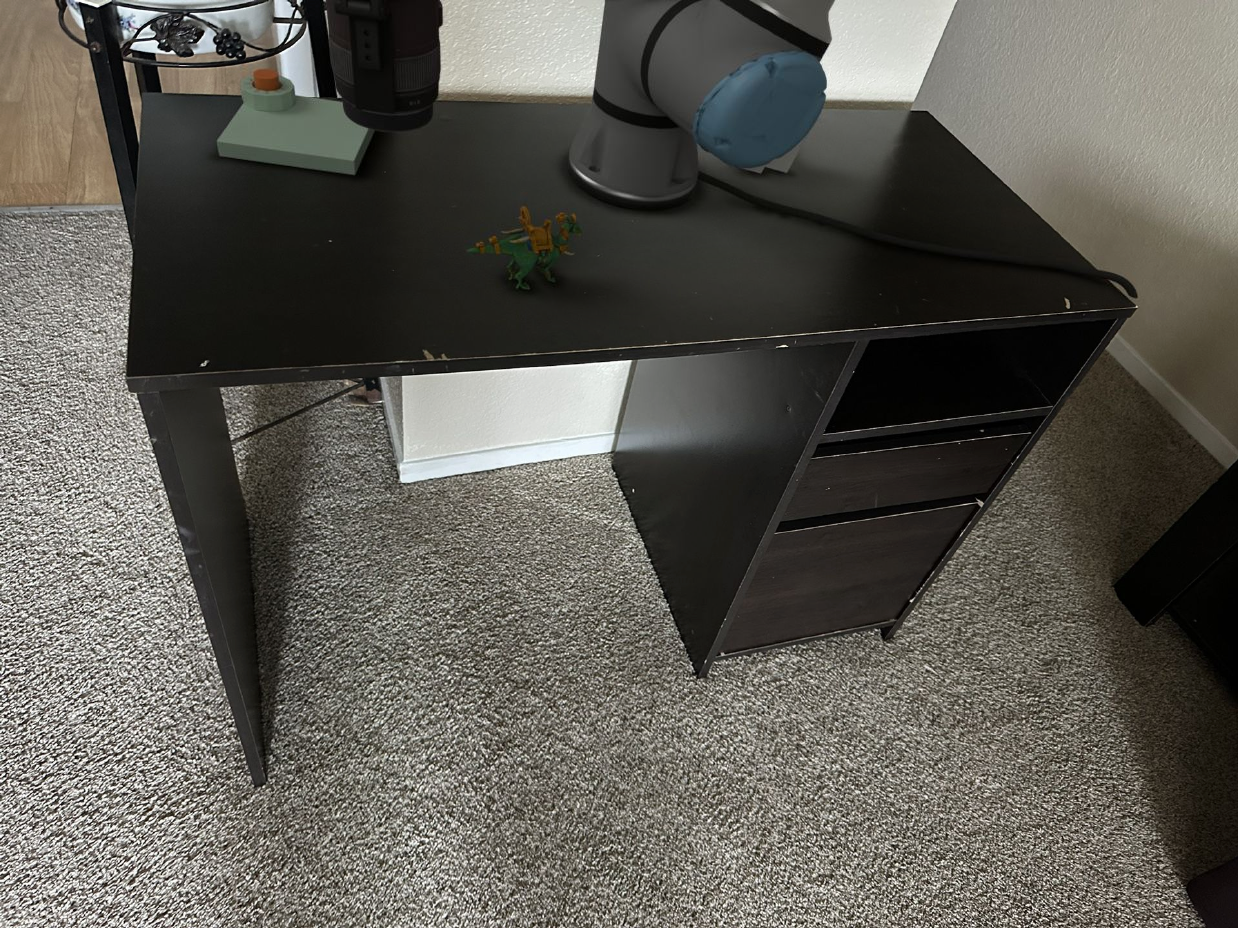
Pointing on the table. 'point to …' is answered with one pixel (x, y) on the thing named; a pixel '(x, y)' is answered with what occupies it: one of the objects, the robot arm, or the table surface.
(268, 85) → the button
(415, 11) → the camera lens
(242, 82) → the scale
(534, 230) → the figurine
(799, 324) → the table surface
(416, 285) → the table surface
